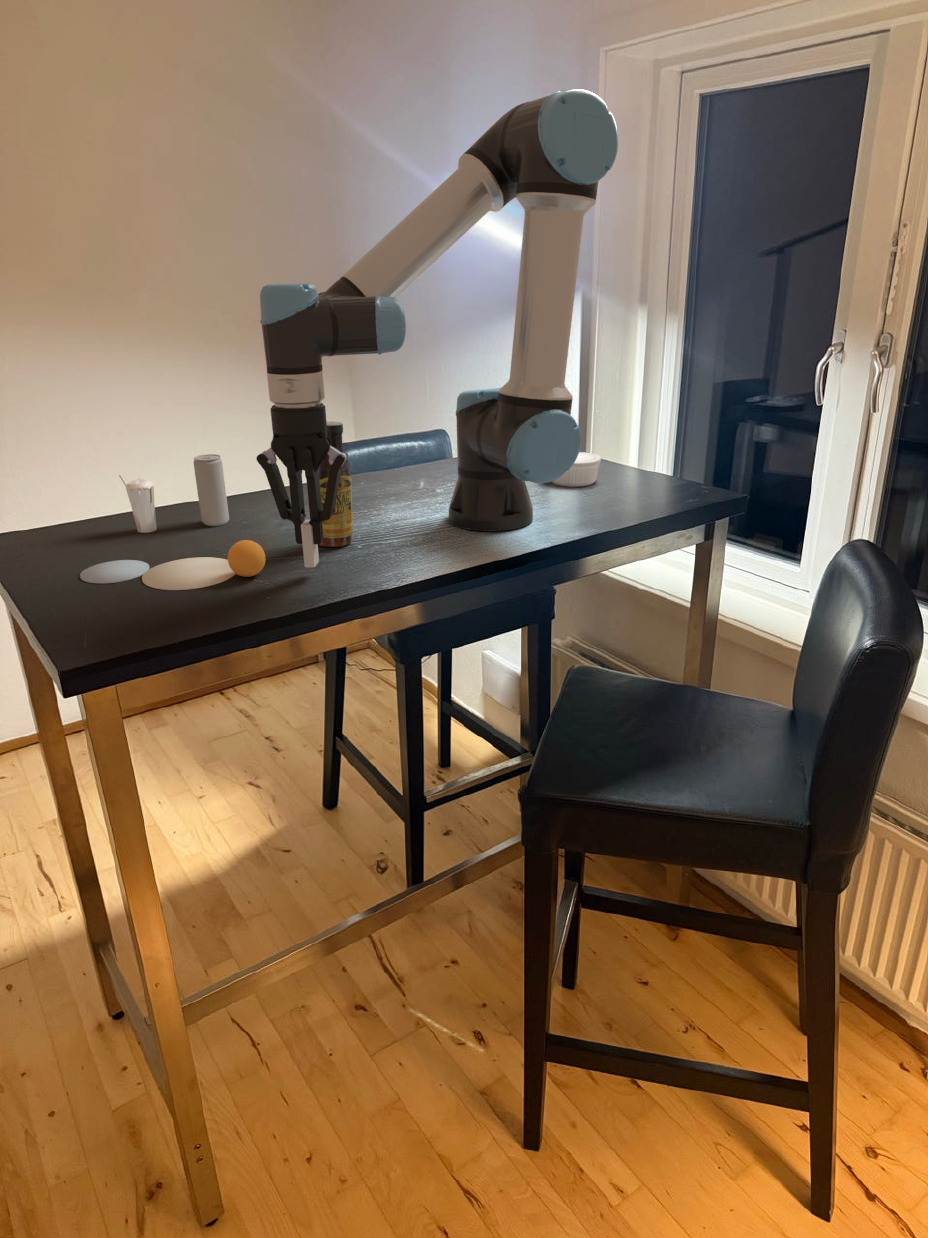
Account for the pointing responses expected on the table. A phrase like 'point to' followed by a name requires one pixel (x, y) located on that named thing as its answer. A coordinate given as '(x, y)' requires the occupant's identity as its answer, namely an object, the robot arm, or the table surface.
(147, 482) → the milkshake
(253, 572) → the ball
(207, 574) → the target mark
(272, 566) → the table surface
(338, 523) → the sauce bottle
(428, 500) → the table surface
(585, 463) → the ramekin
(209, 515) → the beverage can
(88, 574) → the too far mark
